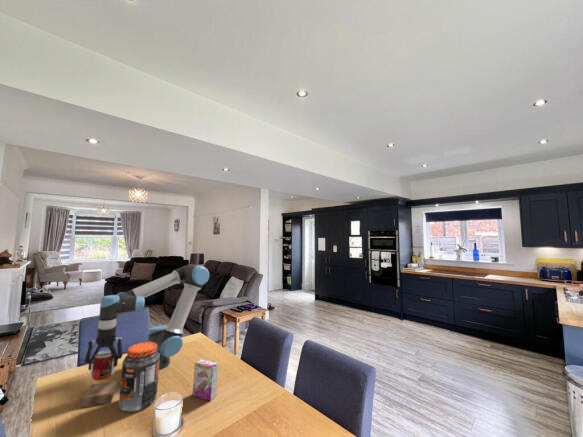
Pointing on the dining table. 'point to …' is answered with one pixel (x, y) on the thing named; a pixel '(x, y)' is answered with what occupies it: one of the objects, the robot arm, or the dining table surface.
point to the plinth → (100, 394)
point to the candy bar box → (205, 379)
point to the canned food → (102, 365)
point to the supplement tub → (139, 377)
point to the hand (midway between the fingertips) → (102, 374)
